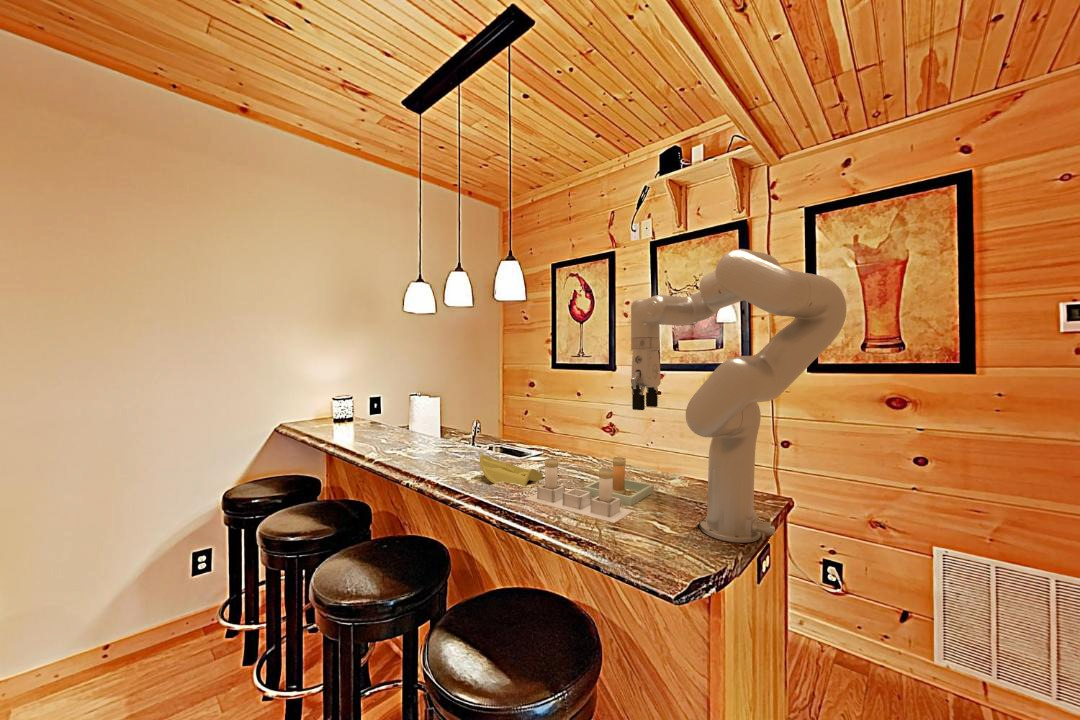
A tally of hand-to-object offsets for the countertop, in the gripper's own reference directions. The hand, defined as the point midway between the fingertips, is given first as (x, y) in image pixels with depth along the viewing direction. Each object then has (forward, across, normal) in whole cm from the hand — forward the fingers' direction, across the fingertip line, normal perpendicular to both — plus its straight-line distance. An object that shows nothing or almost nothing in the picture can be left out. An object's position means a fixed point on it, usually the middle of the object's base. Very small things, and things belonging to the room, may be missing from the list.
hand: (645, 408), depth 126 cm
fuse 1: (+23, -18, +19) cm, 35 cm away
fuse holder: (+25, -19, +11) cm, 33 cm away
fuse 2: (+23, -19, +3) cm, 30 cm away
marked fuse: (+24, -4, +6) cm, 25 cm away
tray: (+25, -4, +6) cm, 26 cm away
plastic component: (+24, -9, +40) cm, 47 cm away
